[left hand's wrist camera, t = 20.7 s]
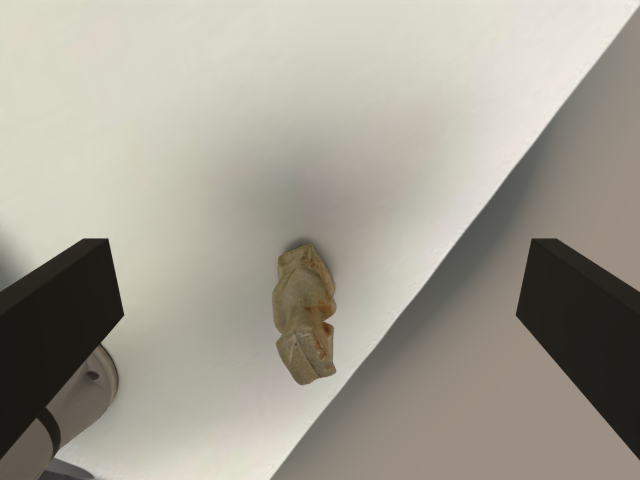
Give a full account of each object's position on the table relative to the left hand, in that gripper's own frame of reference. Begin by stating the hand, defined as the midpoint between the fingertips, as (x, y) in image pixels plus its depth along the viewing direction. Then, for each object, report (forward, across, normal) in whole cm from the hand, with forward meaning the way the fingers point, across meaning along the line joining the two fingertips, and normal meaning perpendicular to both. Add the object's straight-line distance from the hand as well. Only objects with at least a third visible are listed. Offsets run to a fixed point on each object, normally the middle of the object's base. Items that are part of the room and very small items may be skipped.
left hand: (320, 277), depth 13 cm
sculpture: (+28, +1, +13) cm, 31 cm away
